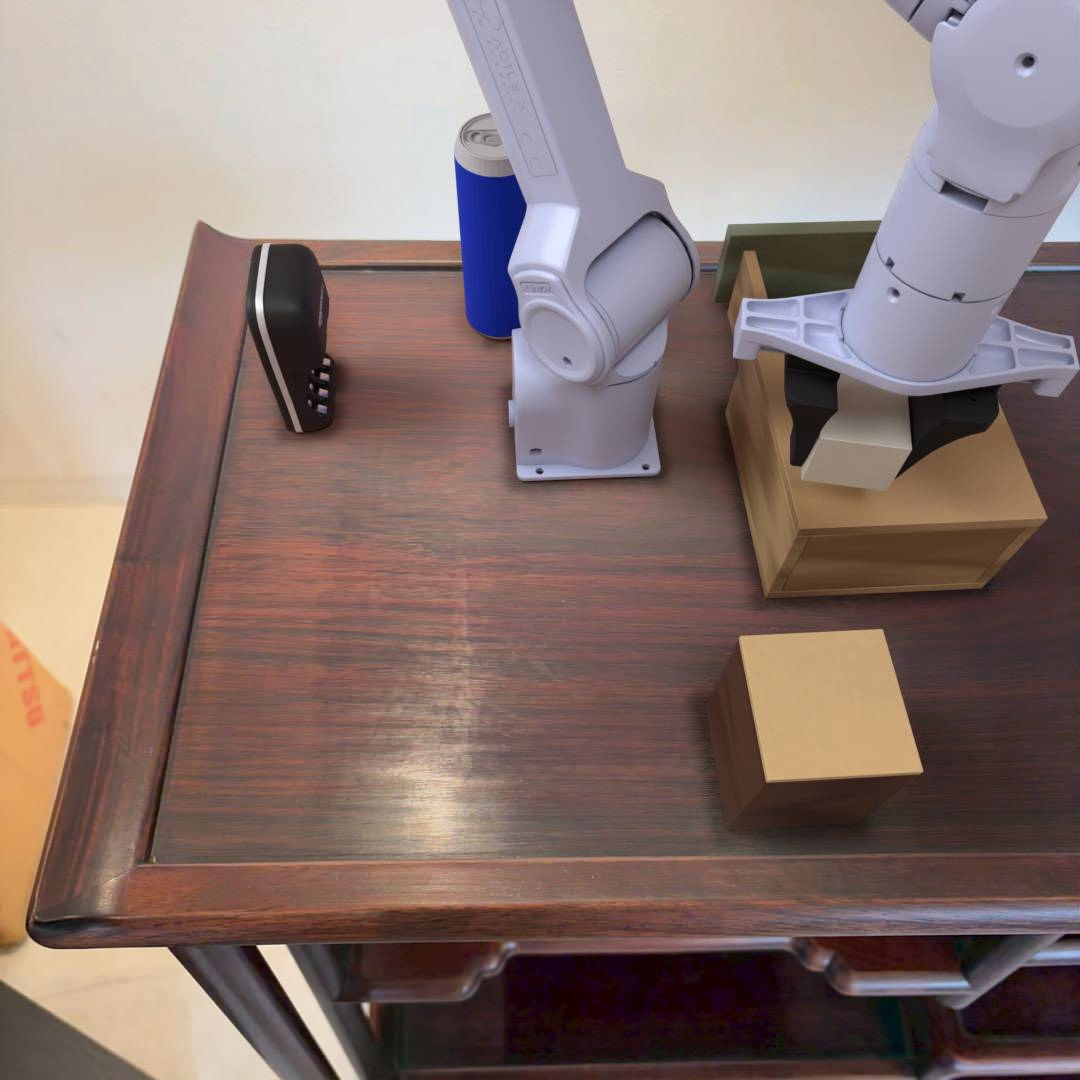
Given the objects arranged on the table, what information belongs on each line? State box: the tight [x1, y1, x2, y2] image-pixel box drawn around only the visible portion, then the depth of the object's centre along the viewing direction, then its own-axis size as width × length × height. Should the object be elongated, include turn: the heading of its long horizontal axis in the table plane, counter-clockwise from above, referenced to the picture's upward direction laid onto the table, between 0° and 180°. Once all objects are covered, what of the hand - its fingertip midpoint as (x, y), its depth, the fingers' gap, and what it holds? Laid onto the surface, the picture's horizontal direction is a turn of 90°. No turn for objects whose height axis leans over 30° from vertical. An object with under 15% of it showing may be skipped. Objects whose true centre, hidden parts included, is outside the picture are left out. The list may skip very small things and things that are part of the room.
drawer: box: [711, 219, 883, 367], centre depth 61 cm, size 15×12×6 cm
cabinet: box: [724, 351, 1049, 599], centre depth 55 cm, size 15×14×8 cm
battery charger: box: [245, 242, 337, 433], centre depth 57 cm, size 7×4×11 cm, turn 4°
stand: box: [705, 639, 921, 832], centre depth 45 cm, size 7×7×9 cm
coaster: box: [738, 628, 924, 783], centre depth 41 cm, size 7×7×1 cm
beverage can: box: [453, 112, 527, 340], centre depth 60 cm, size 5×5×15 cm
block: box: [801, 373, 912, 491], centre depth 45 cm, size 4×4×4 cm
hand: (843, 457), depth 47 cm, fingers closed on block, 4 cm apart
